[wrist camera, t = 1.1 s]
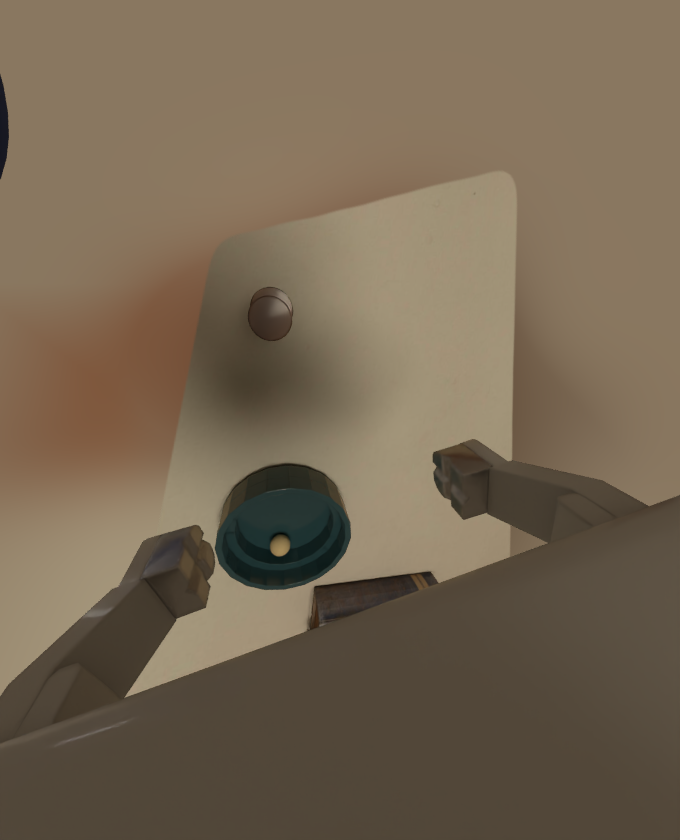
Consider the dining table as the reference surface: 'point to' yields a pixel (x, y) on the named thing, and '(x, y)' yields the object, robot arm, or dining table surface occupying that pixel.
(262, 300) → the stirrer
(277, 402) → the dining table surface
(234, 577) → the bowl
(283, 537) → the dough ball
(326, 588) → the book
